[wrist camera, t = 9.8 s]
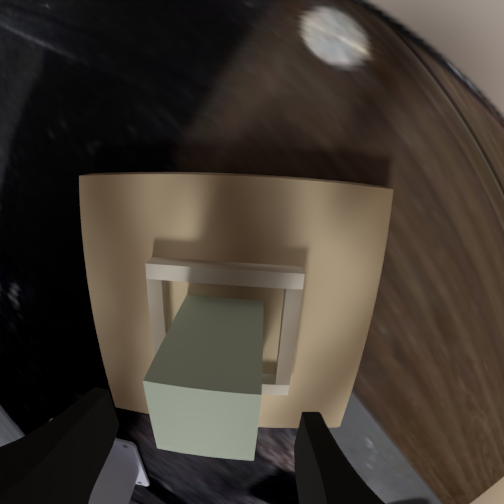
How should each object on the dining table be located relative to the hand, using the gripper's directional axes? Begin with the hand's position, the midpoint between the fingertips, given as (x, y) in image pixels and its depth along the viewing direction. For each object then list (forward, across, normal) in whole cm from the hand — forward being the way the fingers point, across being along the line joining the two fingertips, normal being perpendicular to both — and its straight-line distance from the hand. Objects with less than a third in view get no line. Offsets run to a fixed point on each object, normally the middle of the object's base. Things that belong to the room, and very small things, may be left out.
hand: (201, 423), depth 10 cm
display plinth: (+8, 0, 0) cm, 8 cm away
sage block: (+7, 0, 0) cm, 7 cm away
